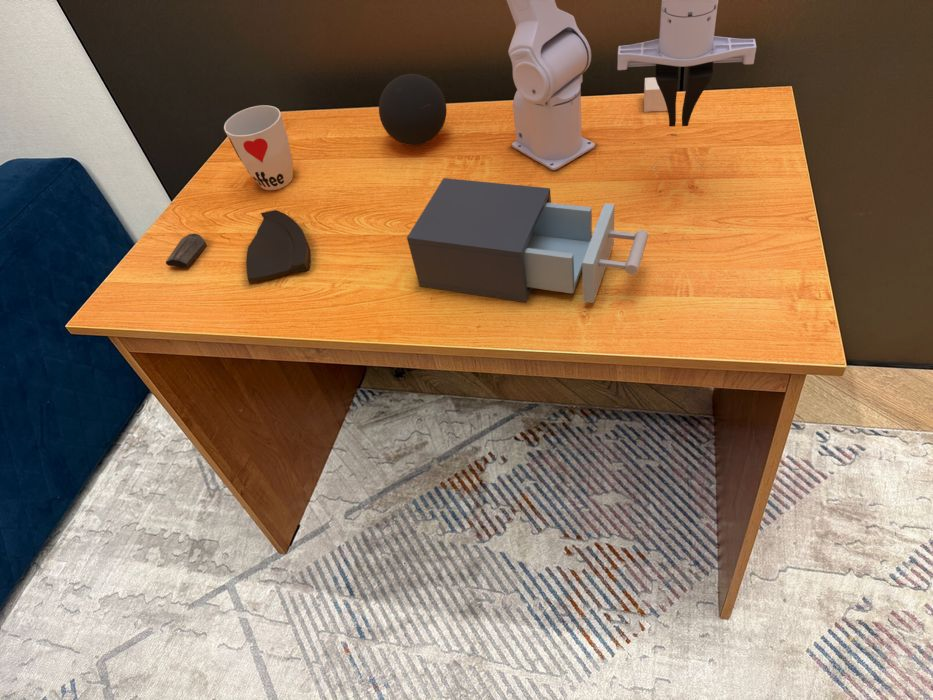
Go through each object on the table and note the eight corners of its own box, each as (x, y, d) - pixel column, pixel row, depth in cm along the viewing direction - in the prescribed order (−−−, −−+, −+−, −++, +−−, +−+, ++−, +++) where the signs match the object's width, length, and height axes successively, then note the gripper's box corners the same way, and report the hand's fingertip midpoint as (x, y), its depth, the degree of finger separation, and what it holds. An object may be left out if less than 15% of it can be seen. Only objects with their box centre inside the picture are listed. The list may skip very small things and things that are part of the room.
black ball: (402, 120, 111) (388, 60, 104) (460, 124, 108) (450, 62, 101) (376, 156, 105) (360, 94, 98) (437, 161, 102) (424, 97, 95)
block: (168, 270, 94) (162, 260, 92) (187, 241, 98) (181, 231, 96) (192, 270, 93) (186, 259, 92) (210, 241, 97) (204, 230, 95)
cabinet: (553, 238, 87) (550, 187, 81) (526, 302, 80) (520, 252, 74) (453, 226, 91) (443, 177, 86) (419, 286, 84) (406, 237, 79)
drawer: (650, 247, 82) (653, 207, 77) (632, 309, 76) (634, 269, 71) (514, 231, 87) (510, 193, 83) (487, 287, 81) (481, 249, 77)
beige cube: (643, 111, 103) (645, 89, 100) (643, 99, 105) (644, 77, 103) (668, 110, 102) (670, 88, 100) (667, 98, 104) (669, 76, 102)
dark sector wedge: (310, 210, 98) (306, 201, 97) (310, 272, 89) (306, 263, 88) (252, 223, 98) (248, 213, 97) (247, 286, 89) (242, 276, 88)
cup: (240, 193, 104) (212, 133, 96) (269, 162, 109) (245, 103, 101) (284, 199, 101) (260, 138, 94) (312, 167, 106) (291, 107, 98)
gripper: (759, -16, 74) (740, 102, 84) (620, -6, 77) (618, 106, 87) (765, 13, 70) (744, 134, 80) (617, 22, 73) (615, 137, 83)
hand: (678, 121), depth 83 cm, fingers closed
